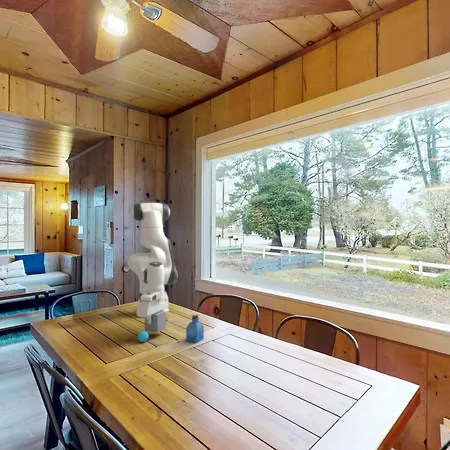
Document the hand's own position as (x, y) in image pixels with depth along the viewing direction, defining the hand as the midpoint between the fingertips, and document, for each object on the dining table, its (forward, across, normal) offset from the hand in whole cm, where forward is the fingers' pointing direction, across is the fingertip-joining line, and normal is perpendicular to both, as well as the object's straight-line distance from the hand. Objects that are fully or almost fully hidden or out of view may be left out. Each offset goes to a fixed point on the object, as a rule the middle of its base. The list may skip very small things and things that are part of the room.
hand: (155, 320), depth 157 cm
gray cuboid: (+4, 0, 0) cm, 4 cm away
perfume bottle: (+8, -2, +22) cm, 23 cm away
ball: (+5, +10, 0) cm, 11 cm away
